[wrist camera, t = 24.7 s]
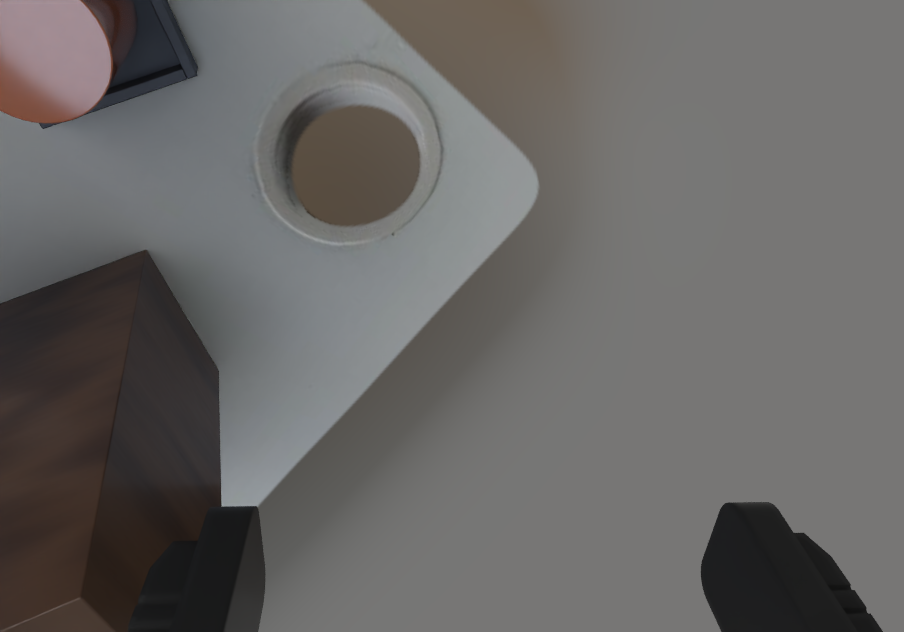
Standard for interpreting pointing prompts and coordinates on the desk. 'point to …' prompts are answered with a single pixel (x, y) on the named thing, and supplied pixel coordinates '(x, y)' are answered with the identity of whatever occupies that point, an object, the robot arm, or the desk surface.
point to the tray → (150, 56)
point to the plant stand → (99, 445)
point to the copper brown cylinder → (61, 55)
